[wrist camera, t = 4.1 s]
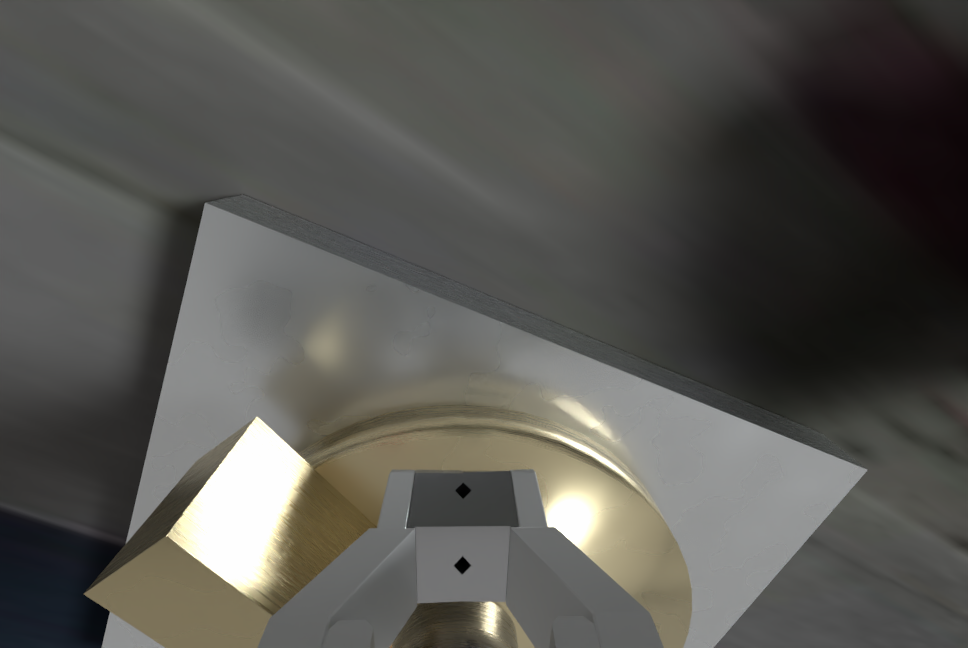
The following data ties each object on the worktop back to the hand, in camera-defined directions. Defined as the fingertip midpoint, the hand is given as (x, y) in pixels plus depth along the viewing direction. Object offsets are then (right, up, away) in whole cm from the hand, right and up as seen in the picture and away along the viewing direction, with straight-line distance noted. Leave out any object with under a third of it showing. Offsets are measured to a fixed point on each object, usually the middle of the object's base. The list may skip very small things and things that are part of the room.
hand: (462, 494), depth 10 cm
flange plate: (-1, -4, +5) cm, 7 cm away
